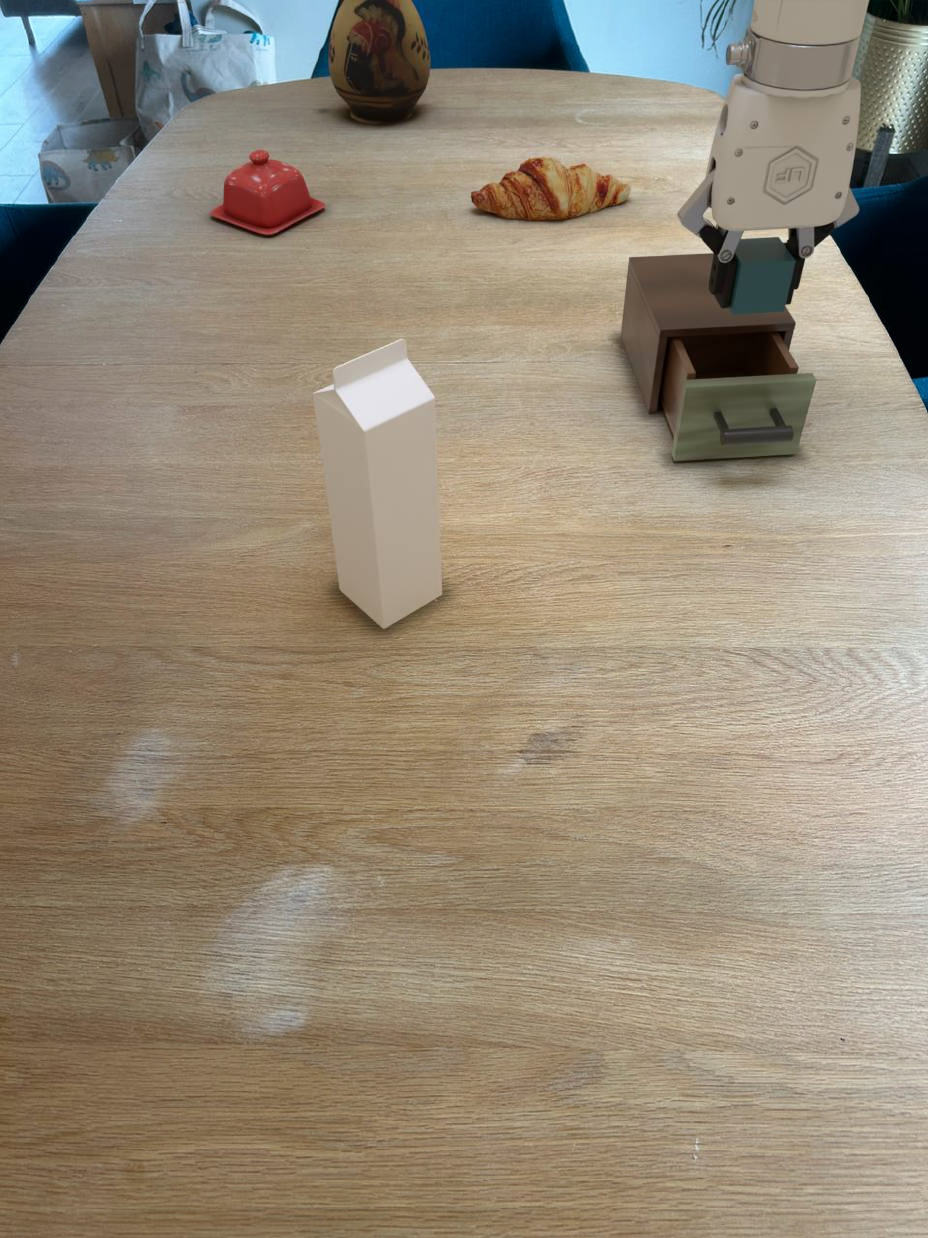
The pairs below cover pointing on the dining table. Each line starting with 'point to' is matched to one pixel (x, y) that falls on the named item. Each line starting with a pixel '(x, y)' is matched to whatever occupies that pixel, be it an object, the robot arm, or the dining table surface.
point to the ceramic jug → (379, 59)
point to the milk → (382, 482)
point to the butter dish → (265, 196)
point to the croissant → (550, 191)
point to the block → (761, 276)
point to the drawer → (733, 396)
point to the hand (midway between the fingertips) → (751, 296)
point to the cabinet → (678, 315)
